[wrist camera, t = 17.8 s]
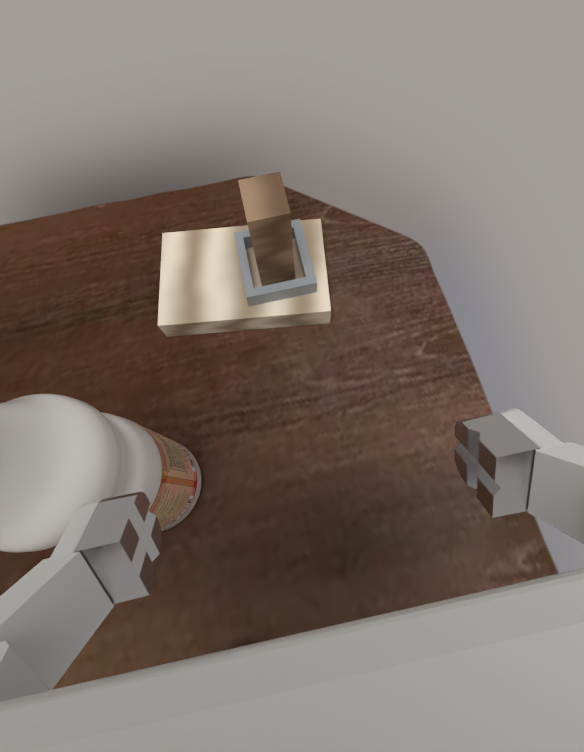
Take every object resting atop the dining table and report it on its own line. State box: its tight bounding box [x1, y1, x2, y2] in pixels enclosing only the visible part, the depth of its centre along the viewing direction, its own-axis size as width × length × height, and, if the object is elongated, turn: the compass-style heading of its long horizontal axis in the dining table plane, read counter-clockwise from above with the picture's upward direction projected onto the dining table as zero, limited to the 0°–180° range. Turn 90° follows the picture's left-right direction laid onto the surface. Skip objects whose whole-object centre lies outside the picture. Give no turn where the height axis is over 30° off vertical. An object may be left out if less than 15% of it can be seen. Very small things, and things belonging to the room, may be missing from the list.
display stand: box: [158, 219, 331, 337], centre depth 47 cm, size 20×13×3 cm, turn 94°
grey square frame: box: [234, 219, 317, 306], centre depth 44 cm, size 8×9×2 cm
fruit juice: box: [0, 394, 202, 552], centre depth 27 cm, size 9×9×28 cm
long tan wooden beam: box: [238, 172, 295, 286], centre depth 40 cm, size 4×5×11 cm
